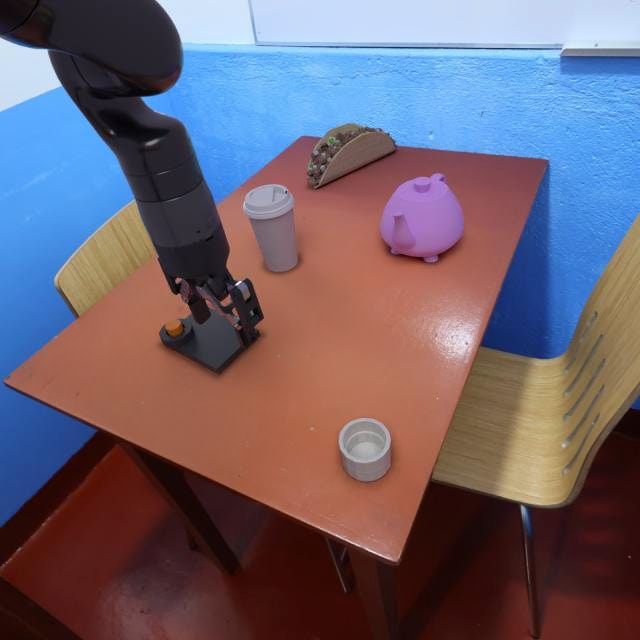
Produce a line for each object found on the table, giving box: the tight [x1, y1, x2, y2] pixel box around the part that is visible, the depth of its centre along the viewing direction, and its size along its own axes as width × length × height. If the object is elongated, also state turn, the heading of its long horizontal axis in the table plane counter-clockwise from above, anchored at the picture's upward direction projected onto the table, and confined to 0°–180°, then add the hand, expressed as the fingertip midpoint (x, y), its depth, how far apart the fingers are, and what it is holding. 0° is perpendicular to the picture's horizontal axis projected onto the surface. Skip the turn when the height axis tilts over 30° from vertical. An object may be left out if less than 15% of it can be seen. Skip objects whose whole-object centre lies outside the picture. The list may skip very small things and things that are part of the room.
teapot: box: [379, 172, 465, 263], centre depth 87 cm, size 22×16×14 cm
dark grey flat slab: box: [158, 306, 261, 376], centre depth 79 cm, size 11×14×3 cm
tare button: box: [165, 318, 184, 336], centre depth 79 cm, size 3×3×2 cm
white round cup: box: [338, 417, 393, 483], centre depth 58 cm, size 6×6×5 cm
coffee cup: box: [242, 183, 299, 273], centre depth 89 cm, size 10×10×15 cm
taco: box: [306, 122, 398, 189], centre depth 117 cm, size 10×27×10 cm, turn 126°
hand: (226, 331), depth 60 cm, fingers open, 8 cm apart
